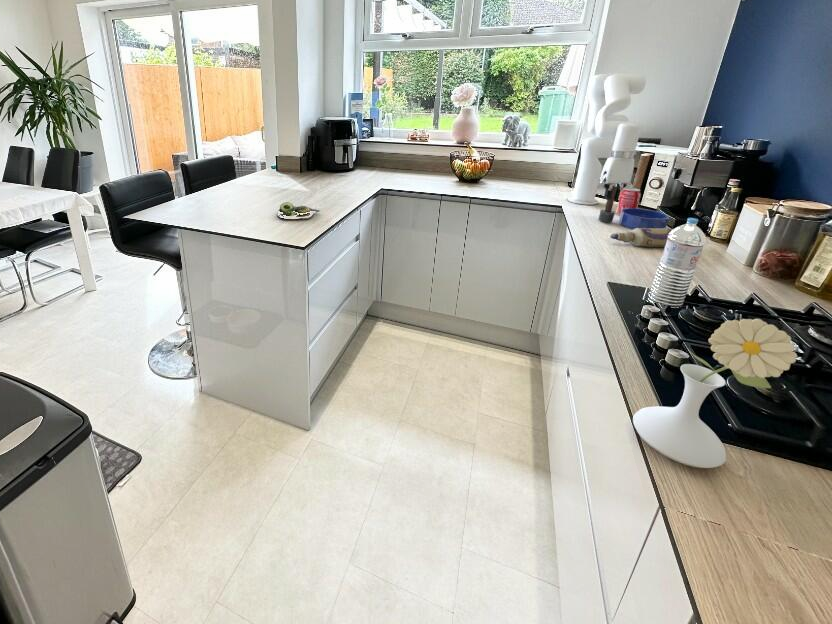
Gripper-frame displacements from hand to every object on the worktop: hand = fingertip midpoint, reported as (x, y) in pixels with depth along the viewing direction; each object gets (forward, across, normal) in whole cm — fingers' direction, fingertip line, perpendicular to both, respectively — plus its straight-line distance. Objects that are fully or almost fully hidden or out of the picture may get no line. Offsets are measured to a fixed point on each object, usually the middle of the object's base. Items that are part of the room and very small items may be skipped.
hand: (610, 198), depth 167 cm
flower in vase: (+11, +64, +114) cm, 132 cm away
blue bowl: (+10, -11, +6) cm, 16 cm away
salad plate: (+10, +134, -12) cm, 135 cm away
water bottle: (+11, +34, +73) cm, 81 cm away
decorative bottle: (+10, +2, +27) cm, 29 cm away
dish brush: (+9, 0, 0) cm, 9 cm away
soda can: (+10, -15, -9) cm, 20 cm away
